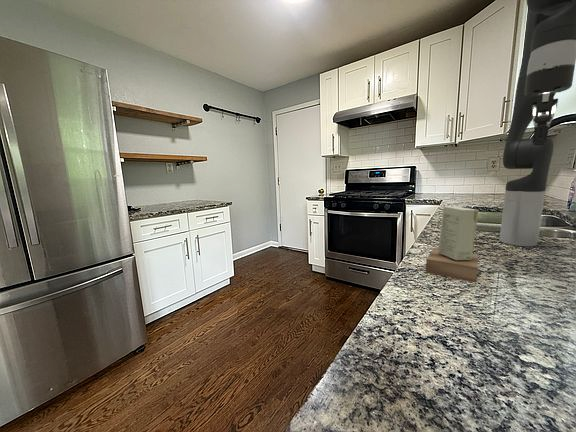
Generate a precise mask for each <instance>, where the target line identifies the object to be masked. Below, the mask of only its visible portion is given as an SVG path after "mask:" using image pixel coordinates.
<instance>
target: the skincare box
mask: <svg viewBox="0 0 576 432" xmlns="http://www.w3.org/2000/svg"><path fill="white" fill-rule="evenodd" d="M442 209H443V210H442V217H441V224H440V225H441V226H440V232H439V242H438V248H437V249H438V253H441V254H443V255H445V256H447V257H450V258H452V259H454V260H471V258H472V254H473V252H474V245H475V244H474V243H475V237H476V231H477V224H478V219H479V211H480V210H479V209H476V208H475V209H474V208H473V209H472V208H469V207H463V206H462V207H461V206H456V205H455V206H449V205H448V206H446V205H445V206H443V208H442Z"/></svg>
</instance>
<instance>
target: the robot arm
mask: <svg viewBox="0 0 576 432" xmlns="http://www.w3.org/2000/svg"><path fill="white" fill-rule="evenodd" d="M526 6H527V9H528V10H527V11H528V12H527V16H526V17H527V18H526V26H525V34H524V35H525V36H524V43H523V44H524V45H523V53H522V54H523V55H522V58H521V63H520V70H519V74H518V78H517V83H516V89H515V96H514V102H513V110H512V117H511V122H510V125H509V130H508V133H507V137H506V142H505V145H504V150H503V153H502V164H503V167H504V168H505V169H508V170H526V169H527V170H531V169H532V170H531V172H530V173H529V174H527V175H526V176H524V177H521V178H517V179H512V180H508V181H507V182H506V185H505V191H504V200H503V206H502V207H503V209H502V215H501V216H502V217H501V226H500V231H499V232H500V233H499V239H498V240H499V242H500V243H501V242H502V243H505V244H507V245H511V246H518V247H536V246H538V241H539V236H540V229H541V222H542V216H543V208H544V202H545V194H546V187H547V182H548V177H549V170H550V166H551V161H552V157H553V152H554V140H553V139H552V138H551V137H548V134H549V128H550V127H551V123H552V121H553V120H554V117H555V112H556V109H557V108H558V102H559V97H558V98H554V97H555V96H556V93H561V92H565V91H567V90H569V89H571V87H572V86H573V82H574V76H575V75H574V73H575V70H576V69H575V67H576V0H526ZM531 123H533V136H532V138H531V137H530V138H524V135H525V132H526V130H527V128H528V127H529V125H530V124H531Z"/></svg>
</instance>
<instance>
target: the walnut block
mask: <svg viewBox="0 0 576 432" xmlns="http://www.w3.org/2000/svg"><path fill="white" fill-rule="evenodd" d="M425 264H426V265H425V273H427V274H432V275H437V276H440V277H447V278H452V279H457V280H463V281H467V282H471V283H477V275H478V274H477V273H478V268H479V267H478V265H479V254H475V253H472V258H471V260H454V259H452V258H450V257H447V256H445V255H443V254H441V253H438V248H432V249H431V252H430V253H429V254H428V256H427V258H426V263H425Z"/></svg>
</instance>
